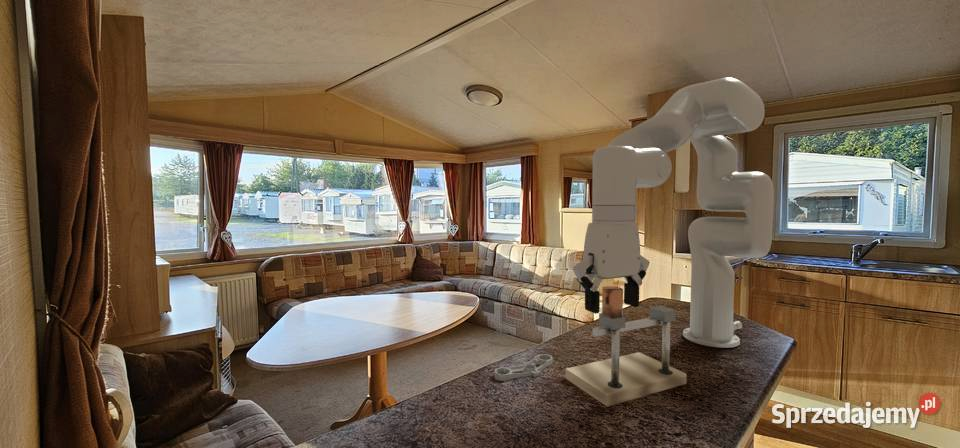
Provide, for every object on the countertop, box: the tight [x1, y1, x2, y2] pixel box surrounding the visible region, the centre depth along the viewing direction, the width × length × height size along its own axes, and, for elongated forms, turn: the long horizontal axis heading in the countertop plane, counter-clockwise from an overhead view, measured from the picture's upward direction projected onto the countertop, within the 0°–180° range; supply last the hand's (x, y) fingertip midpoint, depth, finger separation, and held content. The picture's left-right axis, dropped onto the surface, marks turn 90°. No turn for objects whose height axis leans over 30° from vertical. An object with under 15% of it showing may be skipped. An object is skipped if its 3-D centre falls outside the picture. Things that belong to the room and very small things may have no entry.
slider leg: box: [598, 285, 627, 385], centre depth 72 cm, size 4×4×18 cm
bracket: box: [493, 353, 554, 382], centre depth 83 cm, size 8×2×15 cm
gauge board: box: [564, 351, 687, 407], centre depth 78 cm, size 20×12×2 cm, turn 114°
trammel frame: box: [592, 305, 677, 373], centre depth 75 cm, size 18×4×12 cm, turn 114°
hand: (612, 308), depth 72 cm, fingers open, 9 cm apart
